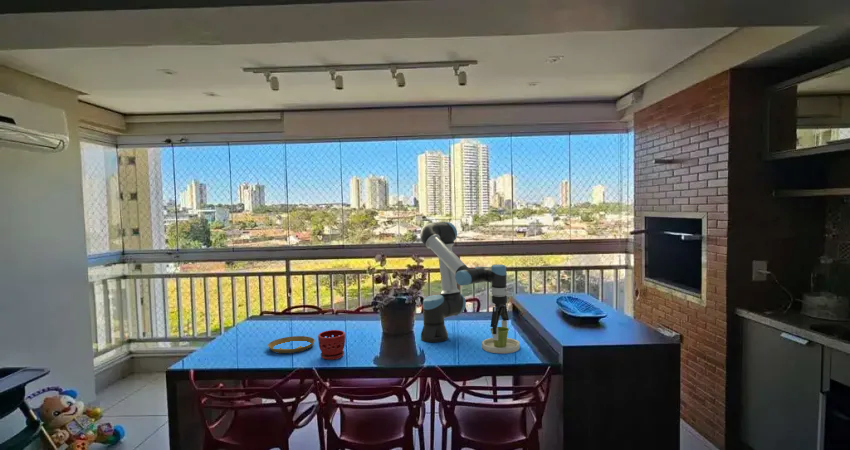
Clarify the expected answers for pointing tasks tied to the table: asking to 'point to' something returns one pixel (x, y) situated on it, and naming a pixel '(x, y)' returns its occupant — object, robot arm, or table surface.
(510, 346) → the saucer
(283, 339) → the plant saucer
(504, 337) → the plant pot
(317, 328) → the table surface
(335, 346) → the plant pot
